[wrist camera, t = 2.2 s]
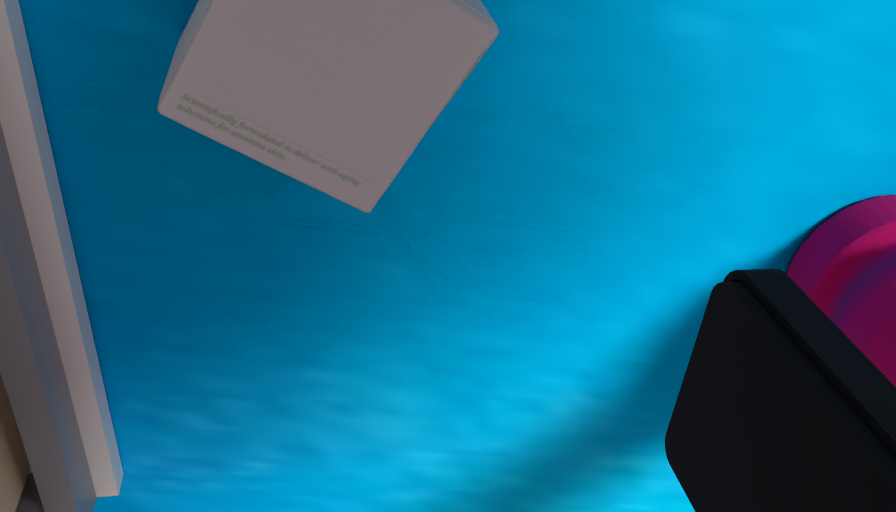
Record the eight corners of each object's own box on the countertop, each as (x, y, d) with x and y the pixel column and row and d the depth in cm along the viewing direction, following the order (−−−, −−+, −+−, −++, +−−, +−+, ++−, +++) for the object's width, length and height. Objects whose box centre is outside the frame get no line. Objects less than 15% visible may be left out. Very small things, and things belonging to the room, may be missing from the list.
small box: (174, 40, 21) (146, 115, 17) (277, -162, 18) (273, -133, 14) (359, 139, 23) (373, 224, 19) (468, -29, 21) (511, 27, 17)
